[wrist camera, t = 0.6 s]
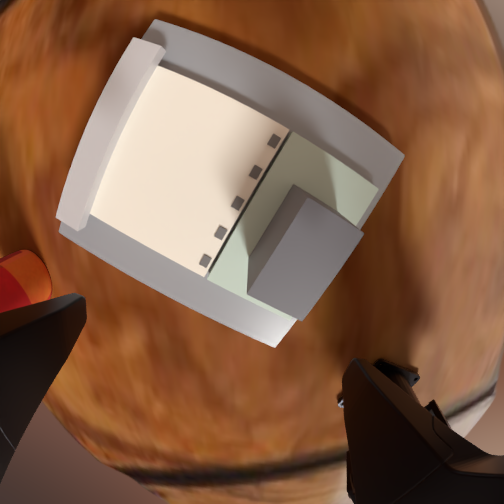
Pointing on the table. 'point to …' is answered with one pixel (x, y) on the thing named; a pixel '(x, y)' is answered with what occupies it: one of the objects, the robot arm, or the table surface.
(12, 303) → the paper cup
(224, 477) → the table surface
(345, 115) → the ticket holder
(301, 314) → the gray block on plate
